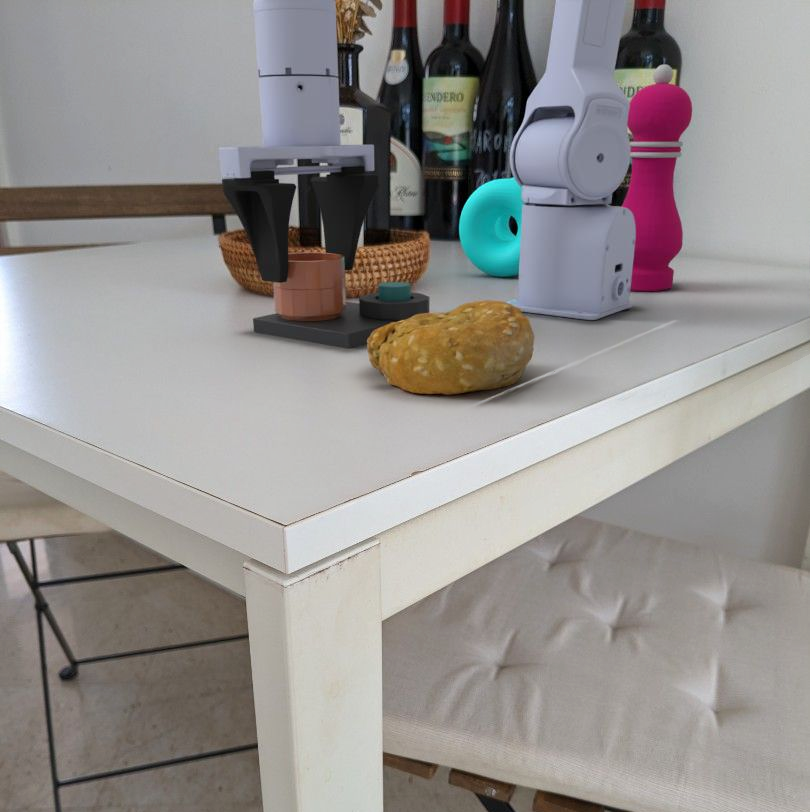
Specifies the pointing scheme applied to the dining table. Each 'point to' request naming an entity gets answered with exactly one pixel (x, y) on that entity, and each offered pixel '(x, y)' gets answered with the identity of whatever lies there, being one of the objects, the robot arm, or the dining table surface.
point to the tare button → (394, 291)
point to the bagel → (454, 349)
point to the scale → (345, 321)
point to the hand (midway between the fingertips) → (308, 275)
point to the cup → (312, 287)
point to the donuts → (493, 227)
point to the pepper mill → (656, 178)
